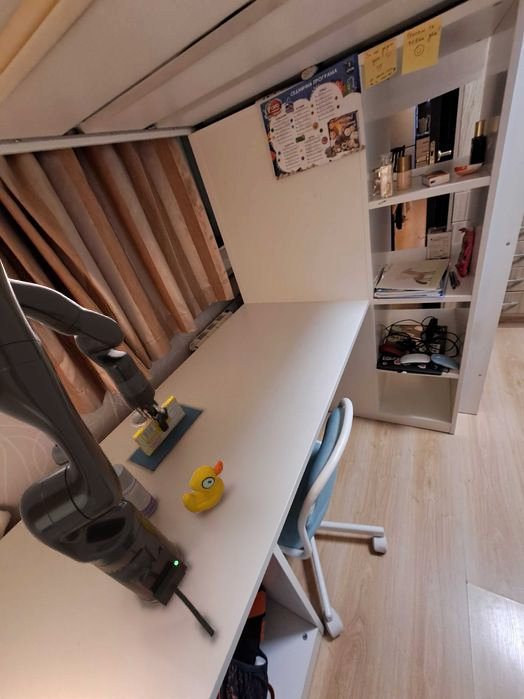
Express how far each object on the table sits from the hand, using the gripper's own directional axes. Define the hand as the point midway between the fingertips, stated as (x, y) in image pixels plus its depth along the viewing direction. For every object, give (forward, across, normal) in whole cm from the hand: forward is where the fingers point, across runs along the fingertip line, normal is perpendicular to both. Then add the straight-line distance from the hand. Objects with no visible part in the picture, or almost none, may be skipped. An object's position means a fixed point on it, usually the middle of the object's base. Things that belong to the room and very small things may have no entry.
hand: (163, 428), depth 87 cm
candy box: (+3, 0, 0) cm, 3 cm away
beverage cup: (+3, -12, -19) cm, 23 cm away
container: (+3, +12, -19) cm, 23 cm away
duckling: (+3, +27, -11) cm, 29 cm away
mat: (+3, 0, 0) cm, 3 cm away
